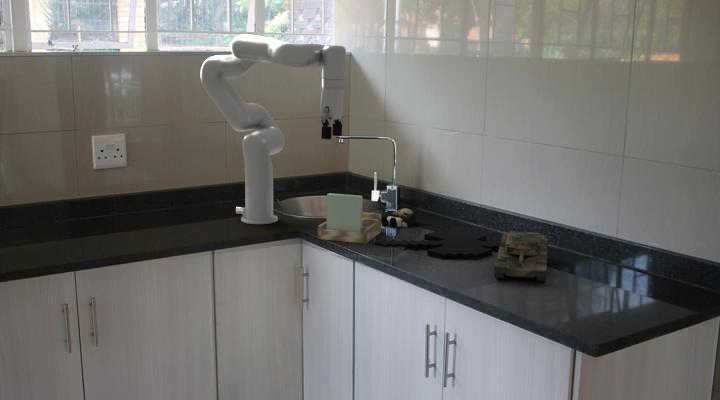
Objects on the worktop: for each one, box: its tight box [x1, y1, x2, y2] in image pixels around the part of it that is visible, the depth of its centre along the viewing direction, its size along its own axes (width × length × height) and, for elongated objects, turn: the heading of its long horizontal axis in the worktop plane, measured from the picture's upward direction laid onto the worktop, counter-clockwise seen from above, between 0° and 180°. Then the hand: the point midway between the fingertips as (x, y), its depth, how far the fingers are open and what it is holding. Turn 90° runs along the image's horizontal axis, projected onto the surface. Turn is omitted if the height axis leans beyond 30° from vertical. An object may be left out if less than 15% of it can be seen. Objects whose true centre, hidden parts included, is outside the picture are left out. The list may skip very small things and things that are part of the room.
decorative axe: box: [374, 230, 501, 261], centre depth 251 cm, size 32×2×30 cm
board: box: [326, 192, 364, 233], centre depth 254 cm, size 11×2×14 cm, turn 72°
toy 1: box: [381, 207, 417, 229], centre depth 278 cm, size 12×8×15 cm
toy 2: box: [493, 230, 549, 283], centre depth 224 cm, size 13×37×10 cm, turn 167°
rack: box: [317, 211, 382, 244], centre depth 259 cm, size 16×16×7 cm
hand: (331, 137), depth 266 cm, fingers open, 9 cm apart
